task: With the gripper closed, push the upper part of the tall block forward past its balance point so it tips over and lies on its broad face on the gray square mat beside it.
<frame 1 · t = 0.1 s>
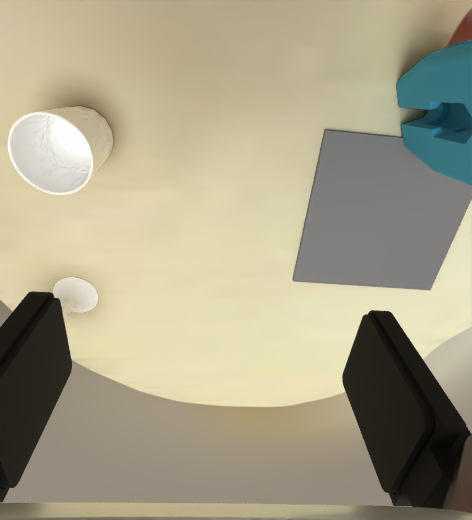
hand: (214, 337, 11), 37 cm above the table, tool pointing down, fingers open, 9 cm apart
white cup: (85, 135, 43), on the table
block: (420, 108, 42), on the table, touching gray square mat
gray square mat: (383, 218, 50), on the table
champagne flute: (76, 294, 54), on the table
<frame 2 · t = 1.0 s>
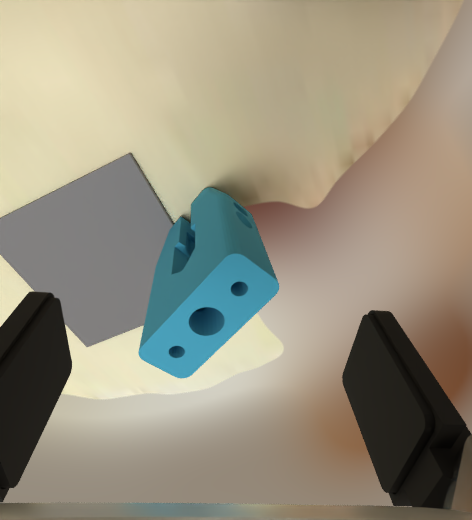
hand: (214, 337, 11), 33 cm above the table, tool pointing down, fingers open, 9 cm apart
block: (202, 221, 44), on the table, touching gray square mat
gray square mat: (106, 263, 47), on the table
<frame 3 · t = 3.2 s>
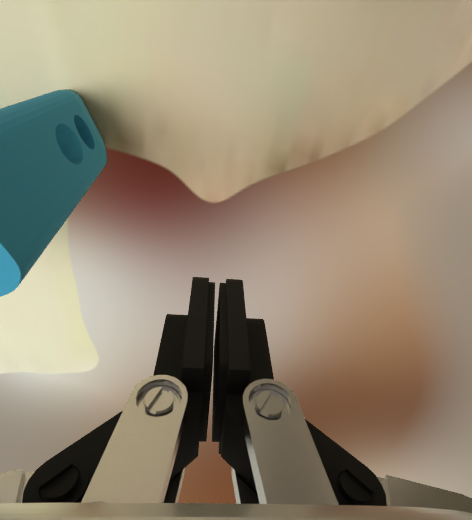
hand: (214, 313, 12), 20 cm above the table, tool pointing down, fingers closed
block: (44, 137, 28), on the table, touching gray square mat
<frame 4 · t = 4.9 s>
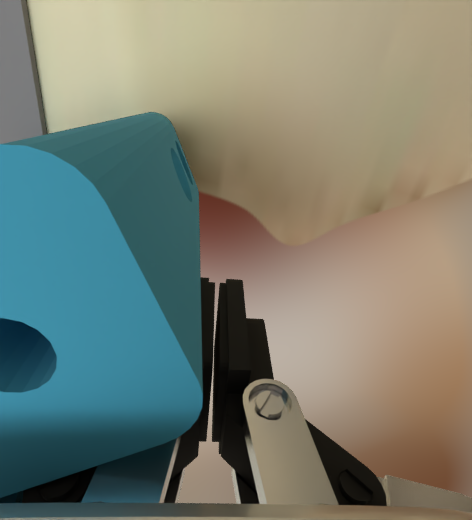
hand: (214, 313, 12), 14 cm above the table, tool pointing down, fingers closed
block: (104, 175, 23), on the table, touching gray square mat, gripper
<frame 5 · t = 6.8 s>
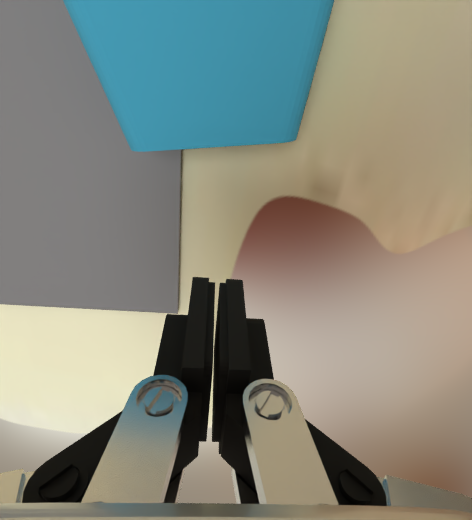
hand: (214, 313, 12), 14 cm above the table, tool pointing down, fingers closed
block: (214, 143, 20), point 3 cm above the table, touching gray square mat
gray square mat: (13, 167, 23), on the table
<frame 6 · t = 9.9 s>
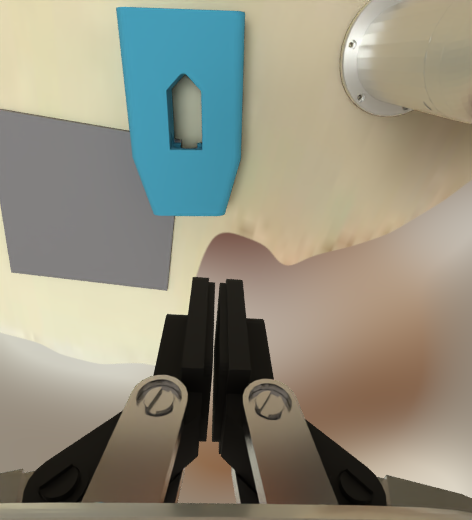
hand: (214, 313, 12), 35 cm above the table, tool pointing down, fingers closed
block: (190, 210, 44), point 3 cm above the table, touching gray square mat
gray square mat: (90, 210, 47), on the table
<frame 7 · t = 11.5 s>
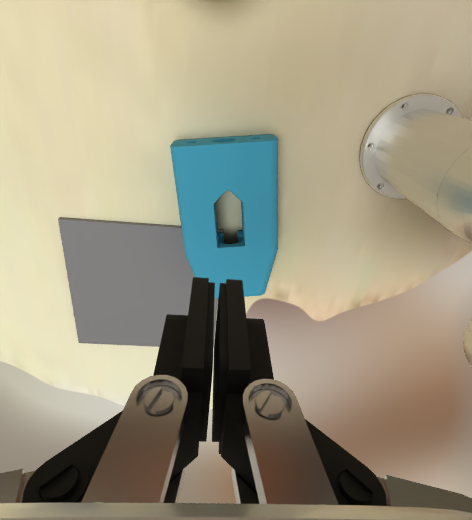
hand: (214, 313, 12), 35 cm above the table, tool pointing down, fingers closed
block: (234, 288, 50), point 3 cm above the table, touching gray square mat
gray square mat: (145, 289, 54), on the table
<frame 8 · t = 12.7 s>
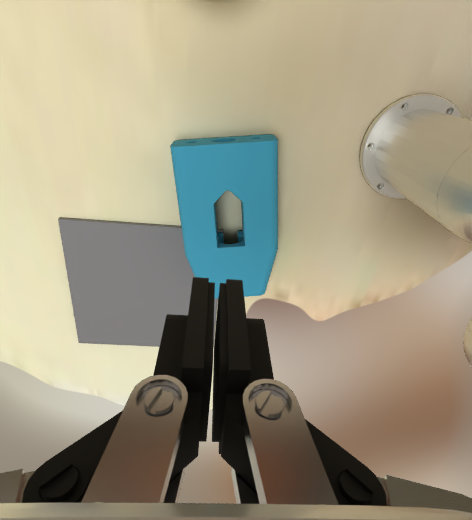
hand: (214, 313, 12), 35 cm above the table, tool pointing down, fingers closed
block: (234, 288, 50), point 3 cm above the table, touching gray square mat
gray square mat: (145, 289, 54), on the table
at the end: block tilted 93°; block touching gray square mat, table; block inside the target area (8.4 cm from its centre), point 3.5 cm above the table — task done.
